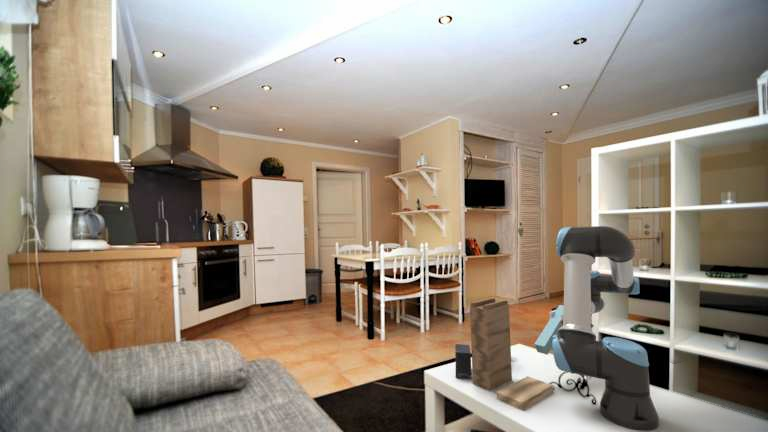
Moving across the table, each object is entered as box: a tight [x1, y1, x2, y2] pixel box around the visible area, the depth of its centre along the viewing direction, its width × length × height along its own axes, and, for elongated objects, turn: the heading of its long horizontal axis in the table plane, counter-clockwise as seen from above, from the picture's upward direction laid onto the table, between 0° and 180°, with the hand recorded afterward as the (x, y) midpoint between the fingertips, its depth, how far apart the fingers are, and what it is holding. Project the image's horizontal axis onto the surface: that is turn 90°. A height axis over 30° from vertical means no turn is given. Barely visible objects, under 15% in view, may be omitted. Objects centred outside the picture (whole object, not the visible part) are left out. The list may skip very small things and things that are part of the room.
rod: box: [534, 304, 564, 355], centre depth 138 cm, size 4×24×4 cm, turn 127°
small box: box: [454, 343, 472, 379], centre depth 144 cm, size 11×6×10 cm, turn 168°
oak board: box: [495, 376, 554, 411], centre depth 124 cm, size 10×20×2 cm, turn 127°
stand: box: [469, 297, 513, 392], centre depth 136 cm, size 8×14×32 cm, turn 126°
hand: (556, 316), depth 140 cm, fingers closed on rod, 4 cm apart
